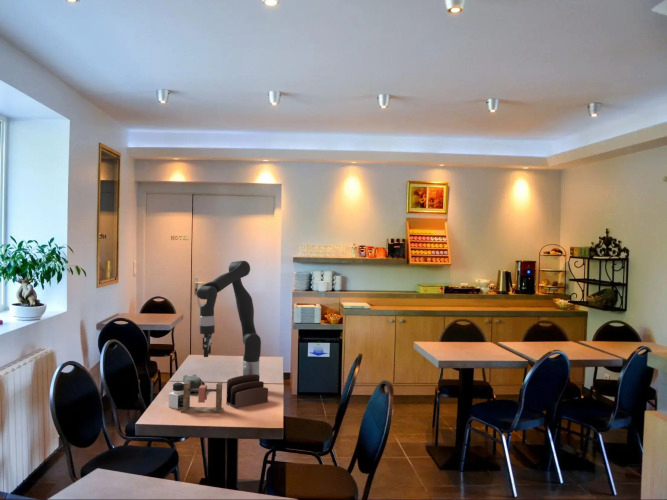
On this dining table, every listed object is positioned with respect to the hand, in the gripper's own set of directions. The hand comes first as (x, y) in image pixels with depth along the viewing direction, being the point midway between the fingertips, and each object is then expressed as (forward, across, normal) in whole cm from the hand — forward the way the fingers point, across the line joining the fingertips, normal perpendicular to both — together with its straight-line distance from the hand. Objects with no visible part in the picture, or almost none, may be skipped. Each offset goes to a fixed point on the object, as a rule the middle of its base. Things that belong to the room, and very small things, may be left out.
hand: (207, 355), depth 267 cm
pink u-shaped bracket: (+20, -11, +1) cm, 23 cm away
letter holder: (+27, +2, -20) cm, 34 cm away
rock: (+26, +27, +12) cm, 39 cm away
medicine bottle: (+25, -4, +14) cm, 29 cm away
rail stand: (+25, -11, +1) cm, 28 cm away
